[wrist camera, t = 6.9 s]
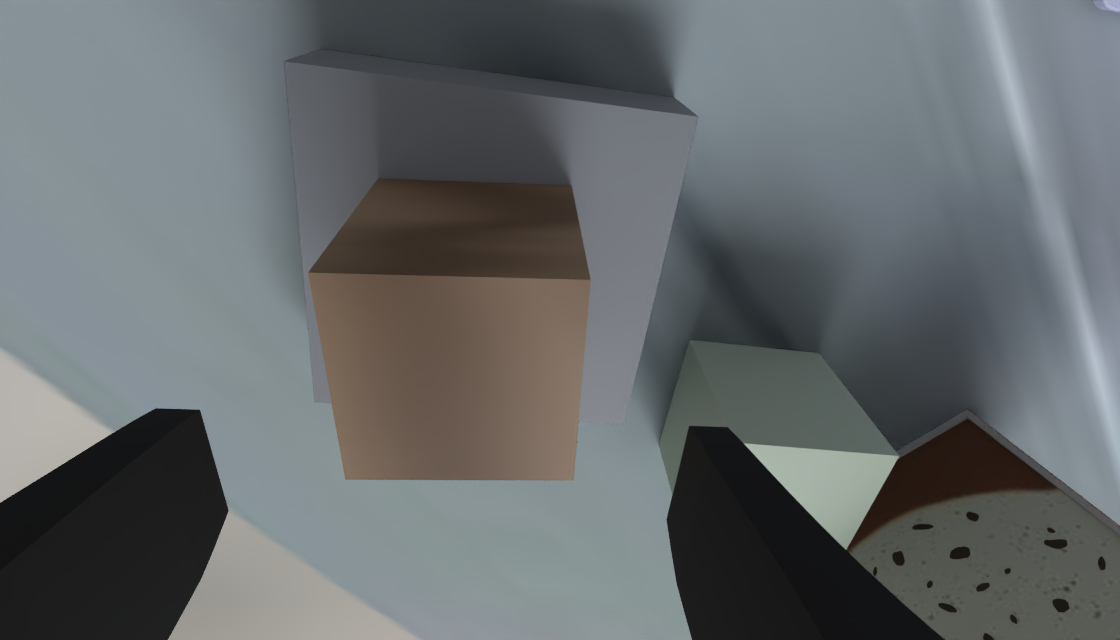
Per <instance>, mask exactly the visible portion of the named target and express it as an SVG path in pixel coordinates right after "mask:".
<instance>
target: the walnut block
mask: <svg viewBox="0 0 1120 640" xmlns="http://www.w3.org/2000/svg"><path fill="white" fill-rule="evenodd" d="M308 276H309V282H310V287H311V293H312V298H313V304H314V309H315V315H316V320H317V326H318V331H319V337H320V342H321V348H322V353H323V359H324V364H325V370H326V375H327V381H328V386H329V392H330V397H331V402H332V408H333V413H334V419H335V424H336V430H337V435H338V441H339V446H340V452H341V457H342V463H343V468H344V474H345V479H346V480H574V470H575V458H576V447H577V435H578V423H579V411H580V400H581V388H582V376H583V364H584V353H585V341H586V329H587V318H588V306H589V294H590V282H591V279H590V274H589V269H588V264H587V259H586V254H585V249H584V244H583V239H582V234H581V229H580V224H579V219H578V214H577V209H576V204H575V199H574V194H573V189H572V185H544V184H516V183H488V182H460V181H432V180H404V179H377V180H376V182H375V183H374V184H373V186H372V187H371V188H370V190H369V191H368V193H367V194H366V195H365V197H364V198H363V199H362V201H361V202H360V203H359V205H358V206H357V207H356V209H355V210H354V211H353V213H352V214H351V215H350V217H349V218H348V219H347V221H346V222H345V223H344V225H343V226H342V227H341V229H340V230H339V232H338V233H337V234H336V236H335V237H334V238H333V240H332V241H331V242H330V244H329V245H328V246H327V248H326V249H325V250H324V252H323V253H322V254H321V256H320V257H319V258H318V260H317V261H316V262H315V264H314V265H313V266H312V268H311V269H310V271H309V272H308Z"/></svg>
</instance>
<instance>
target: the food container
mask: <svg viewBox="0 0 1120 640" xmlns="http://www.w3.org/2000/svg"><path fill="white" fill-rule="evenodd" d="M896 453H897V454H898V455H899V457H898V459H897V461H896V463H895V464H894V466H893V468H892V470H891V472H890V473H889V475H888V477H887V479H886V480H885V482H884V484H883V486H882V487H881V489H880V491H879V493H878V495H877V496H876V498H875V500H874V502H873V503H872V505H871V507H870V509H869V510H868V512H867V514H866V516H865V518H864V519H863V521H862V523H861V525H860V526H859V528H858V530H857V532H856V533H855V535H854V537H853V539H852V540H851V542H850V544H849V546H848V548H847V549H846V550H847V551H848V552H849V553H850V554H851V555H852V556H853V557H854V558H855V559H856V560H857V561H858V562H859V563H860V564H861V565H862V566H863V567H864V568H865V569H866V570H868V571H869V572H870V573H871V574H872V575H873V576H874V577H875V578H876V579H877V580H878V581H879V582H881V583H882V584H883V585H884V586H885V587H886V588H887V589H888V590H889V591H890V592H891V593H892V594H894V595H895V596H896V597H897V598H898V599H899V600H900V601H901V602H902V603H903V604H904V605H906V606H907V607H908V608H909V609H910V610H911V611H912V612H913V613H915V614H916V615H917V616H918V617H919V618H920V619H921V620H923V621H924V622H925V623H926V624H927V625H928V626H930V627H931V628H932V629H933V630H934V631H935V632H937V633H938V634H939V635H940V636H941V637H943V638H944V639H945V640H1120V526H1119V525H1118V524H1117V523H1116V522H1114V521H1113V520H1112V519H1110V518H1109V517H1108V516H1106V515H1105V514H1104V513H1103V512H1101V511H1100V510H1099V509H1097V508H1096V507H1095V506H1093V505H1092V504H1091V503H1090V502H1088V501H1087V500H1086V499H1084V498H1083V497H1082V496H1080V495H1079V494H1078V493H1076V492H1075V491H1074V490H1073V489H1071V488H1070V487H1069V486H1067V485H1066V484H1065V483H1063V482H1062V481H1061V480H1060V479H1058V478H1057V477H1056V476H1054V475H1053V474H1052V473H1050V472H1049V471H1048V470H1047V469H1045V468H1044V467H1043V466H1041V465H1040V464H1039V463H1037V462H1036V461H1035V460H1034V459H1032V458H1031V457H1030V456H1028V455H1027V454H1026V453H1024V452H1023V451H1022V450H1021V449H1019V448H1018V447H1017V446H1015V445H1014V444H1013V443H1011V442H1010V441H1009V440H1008V439H1006V438H1005V437H1004V436H1002V435H1001V434H1000V433H998V432H997V431H996V430H995V429H993V428H992V427H991V426H989V425H988V424H987V423H985V422H984V421H983V420H982V419H980V418H979V417H978V416H976V415H975V414H974V413H972V412H971V411H970V410H969V409H966V410H965V411H963V412H961V413H960V414H958V415H956V416H955V417H953V418H951V419H949V420H948V421H946V422H944V423H943V424H941V425H939V426H938V427H936V428H934V429H933V430H931V431H929V432H927V433H926V434H924V435H922V436H921V437H919V438H917V439H916V440H914V441H912V442H910V443H909V444H907V445H905V446H904V447H902V448H900V449H899V450H897V451H896Z"/></svg>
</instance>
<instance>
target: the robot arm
mask: <svg viewBox="0 0 1120 640" xmlns="http://www.w3.org/2000/svg"><path fill="white" fill-rule="evenodd" d="M1093 2H1094V4H1095V6H1096V7H1098V8H1100V9H1102V10H1107V11H1113V12H1118V13H1120V0H1093ZM227 513H228V507H227V504H226V500H225V497H224V493H223V489H222V486H221V482H220V479H219V475H218V472H217V468H216V465H215V461H214V458H213V454H212V451H211V447H210V444H209V440H208V437H207V433H206V430H205V426H204V423H203V419H202V416H201V412H200V410H188V409H157V408H156V409H154V410H152V411H150V412H149V413H147V414H145V415H143V416H141V417H139V418H138V419H136V420H134V421H133V422H131V423H129V424H127V425H126V426H124V427H122V428H121V429H119V430H117V431H116V432H114V433H112V434H111V435H109V436H108V437H106V438H104V439H103V440H101V441H100V442H98V443H96V444H95V445H93V446H91V447H90V448H88V449H87V450H85V451H83V452H82V453H80V454H79V455H77V456H75V457H74V458H72V459H71V460H69V461H67V462H66V463H64V464H62V465H61V466H59V467H58V468H56V469H54V470H53V471H51V472H50V473H48V474H47V475H45V476H43V477H41V478H40V479H38V480H37V481H35V482H33V483H32V484H30V485H29V486H27V487H26V488H24V489H22V490H21V491H19V492H17V493H15V494H14V495H12V496H11V497H9V498H7V499H6V500H4V501H3V502H1V503H0V640H168V638H169V636H170V635H171V633H172V631H173V629H174V627H175V626H176V624H177V622H178V620H179V618H180V616H181V615H182V613H183V611H184V609H185V607H186V605H187V604H188V602H189V600H190V598H191V597H192V595H193V593H194V591H195V589H196V587H197V585H198V583H199V582H200V580H201V578H202V575H203V573H204V571H205V568H206V566H207V564H208V561H209V559H210V557H211V554H212V552H213V549H214V547H215V545H216V542H217V539H218V536H219V534H220V532H221V529H222V526H223V524H224V521H225V519H226V516H227ZM667 525H668V531H669V538H670V545H671V552H672V558H673V564H674V570H675V576H676V581H677V586H678V590H679V593H680V597H681V601H682V605H683V608H684V612H685V615H686V619H687V623H688V626H689V630H690V634H691V637H692V640H945V639H944V638H943V637H941V636H940V635H939V634H938V633H937V632H935V631H934V630H933V629H932V628H931V627H930V626H928V625H927V624H926V623H925V622H924V621H923V620H921V619H920V618H919V617H918V616H917V615H916V614H915V613H913V612H912V611H911V610H910V609H909V608H908V607H907V606H906V605H904V604H903V603H902V602H901V601H900V600H899V599H898V598H897V597H896V596H895V595H894V594H892V593H891V592H890V591H889V590H888V589H887V588H886V587H885V586H884V585H883V584H882V583H881V582H879V581H878V580H877V579H876V578H875V577H874V576H873V575H872V574H871V573H870V572H869V571H868V570H866V569H865V568H864V567H863V566H862V565H861V564H860V563H859V562H858V561H857V560H856V559H855V558H854V557H853V556H852V555H851V554H850V553H849V552H848V551H847V550H846V549H845V548H844V547H842V546H841V545H840V544H839V543H838V542H837V541H836V540H835V539H834V538H833V537H832V536H831V535H830V534H829V533H828V532H827V531H826V530H825V529H824V528H823V527H822V526H821V525H820V524H819V523H818V522H817V521H816V520H815V519H814V517H813V516H812V515H811V514H810V513H809V512H808V511H807V510H806V509H805V508H804V507H803V506H802V505H801V504H800V503H799V502H798V501H797V500H796V499H795V498H794V497H793V496H792V495H791V494H790V493H789V492H788V490H787V489H786V488H785V487H784V486H783V485H782V484H781V483H780V482H779V481H778V480H777V479H776V478H775V477H774V476H773V475H772V473H771V472H770V471H769V470H768V469H767V468H766V467H765V466H764V465H763V464H762V463H761V462H760V461H759V459H758V458H757V457H756V456H755V455H754V454H753V453H752V452H751V451H750V450H749V449H748V448H747V447H746V445H745V444H744V443H743V442H742V441H741V440H740V439H739V438H738V437H737V436H736V435H735V434H734V433H733V432H732V431H731V430H730V429H729V428H728V427H712V426H689V428H688V432H687V436H686V441H685V445H684V449H683V453H682V457H681V462H680V466H679V470H678V474H677V479H676V483H675V487H674V491H673V495H672V500H671V504H670V508H669V512H668V516H667Z"/></svg>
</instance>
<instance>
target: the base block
mask: <svg viewBox="0 0 1120 640" xmlns="http://www.w3.org/2000/svg"><path fill="white" fill-rule="evenodd" d="M284 67H285V78H286V89H287V101H288V112H289V123H290V134H291V145H292V156H293V168H294V179H295V190H296V201H297V212H298V223H299V235H300V246H301V257H302V268H303V279H304V291H305V302H306V313H307V324H308V335H309V346H310V358H311V369H312V380H313V391H314V402H320V403H332V402H331V397H330V392H329V386H328V381H327V375H326V370H325V364H324V359H323V353H322V348H321V342H320V337H319V331H318V326H317V320H316V315H315V309H314V304H313V298H312V293H311V287H310V282H309V276H308V272H309V271H310V269H311V268H312V266H313V265H314V264H315V262H316V261H317V260H318V258H319V257H320V256H321V254H322V253H323V252H324V250H325V249H326V248H327V246H328V245H329V244H330V242H331V241H332V240H333V238H334V237H335V236H336V234H337V233H338V232H339V230H340V229H341V227H342V226H343V225H344V223H345V222H346V221H347V219H348V218H349V217H350V215H351V214H352V213H353V211H354V210H355V209H356V207H357V206H358V205H359V203H360V202H361V201H362V199H363V198H364V197H365V195H366V194H367V193H368V191H369V190H370V188H371V187H372V186H373V184H374V183H375V182H376V180H377V179H404V180H432V181H460V182H488V183H516V184H544V185H572V189H573V194H574V199H575V204H576V209H577V214H578V219H579V224H580V229H581V234H582V239H583V244H584V249H585V254H586V259H587V264H588V269H589V274H590V279H591V282H590V294H589V306H588V318H587V329H586V341H585V353H584V364H583V376H582V388H581V400H580V411H579V422H592V423H606V424H619V425H624V423H625V419H626V415H627V411H628V407H629V402H630V398H631V394H632V390H633V386H634V382H635V377H636V373H637V369H638V365H639V361H640V357H641V353H642V348H643V344H644V340H645V336H646V332H647V328H648V324H649V319H650V315H651V311H652V307H653V303H654V299H655V294H656V290H657V286H658V282H659V278H660V274H661V270H662V265H663V261H664V257H665V253H666V249H667V245H668V241H669V236H670V232H671V228H672V224H673V220H674V216H675V212H676V207H677V203H678V199H679V195H680V191H681V187H682V182H683V178H684V174H685V170H686V166H687V162H688V158H689V153H690V149H691V145H692V141H693V137H694V133H695V129H696V124H697V120H698V116H697V115H696V114H694V113H693V112H692V111H691V110H689V109H688V108H687V107H686V106H684V105H683V104H682V103H681V102H679V101H678V100H677V99H676V98H674V97H666V96H659V95H652V94H644V93H637V92H630V91H623V90H615V89H608V88H601V87H593V86H586V85H579V84H572V83H564V82H557V81H550V80H542V79H535V78H528V77H521V76H513V75H506V74H499V73H491V72H484V71H477V70H470V69H462V68H455V67H448V66H441V65H433V64H426V63H419V62H411V61H404V60H397V59H390V58H382V57H375V56H368V55H360V54H353V53H346V52H339V51H331V50H324V49H319V50H316V51H313V52H310V53H307V54H304V55H301V56H298V57H296V58H293V59H290V60H287V61H284Z"/></svg>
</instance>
